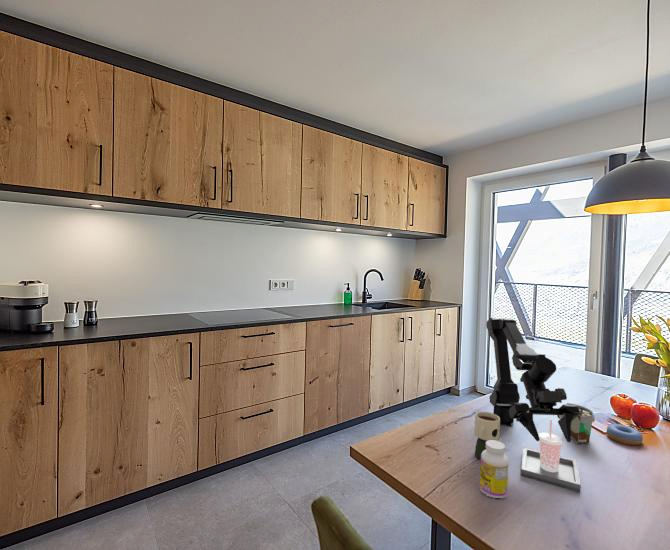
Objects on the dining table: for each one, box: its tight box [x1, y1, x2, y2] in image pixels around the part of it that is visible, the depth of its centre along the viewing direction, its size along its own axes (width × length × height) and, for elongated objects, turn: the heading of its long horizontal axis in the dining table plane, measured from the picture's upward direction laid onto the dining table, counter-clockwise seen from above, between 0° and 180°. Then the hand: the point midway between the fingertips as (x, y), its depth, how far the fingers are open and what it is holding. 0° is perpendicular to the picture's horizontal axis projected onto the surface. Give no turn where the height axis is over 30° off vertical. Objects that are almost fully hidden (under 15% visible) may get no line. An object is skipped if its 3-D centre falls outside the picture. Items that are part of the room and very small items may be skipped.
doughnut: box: [606, 423, 644, 446], centre depth 129 cm, size 10×10×5 cm
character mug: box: [473, 411, 501, 459], centre depth 114 cm, size 11×7×13 cm, turn 141°
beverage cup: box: [538, 419, 563, 472], centre depth 108 cm, size 6×6×14 cm
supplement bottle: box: [479, 440, 510, 499], centre depth 97 cm, size 7×7×13 cm
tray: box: [520, 447, 582, 493], centre depth 108 cm, size 14×14×2 cm
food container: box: [566, 402, 596, 445], centre depth 128 cm, size 12×6×10 cm, turn 168°
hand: (553, 441), depth 106 cm, fingers open, 8 cm apart
